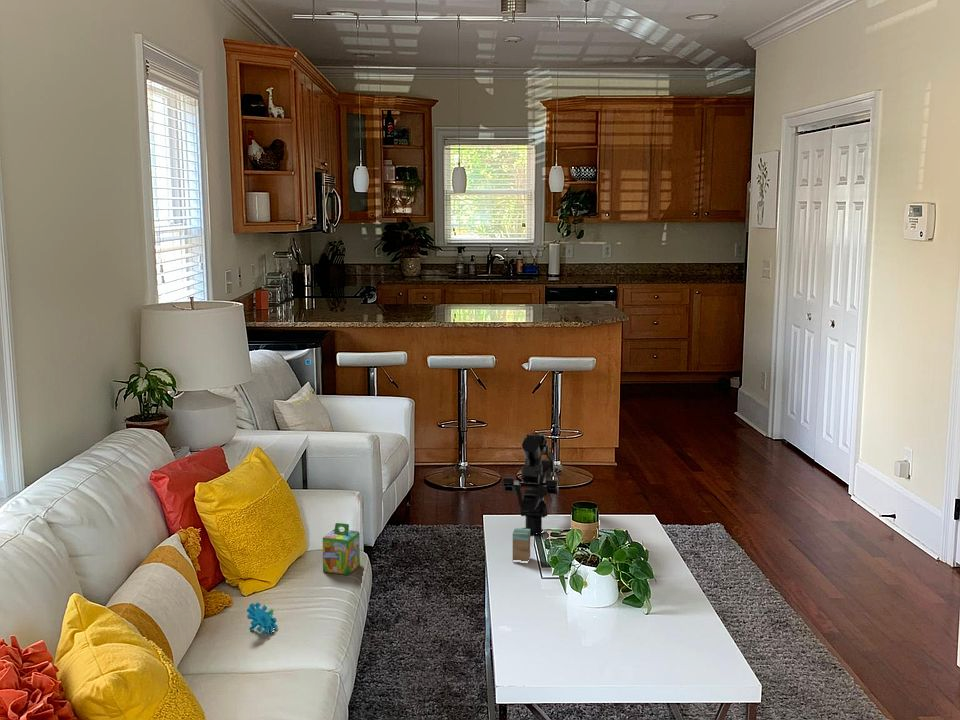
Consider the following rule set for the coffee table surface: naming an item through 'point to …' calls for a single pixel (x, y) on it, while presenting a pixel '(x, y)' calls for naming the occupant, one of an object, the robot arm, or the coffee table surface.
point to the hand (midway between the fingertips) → (527, 508)
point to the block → (521, 544)
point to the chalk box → (341, 550)
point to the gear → (261, 618)
